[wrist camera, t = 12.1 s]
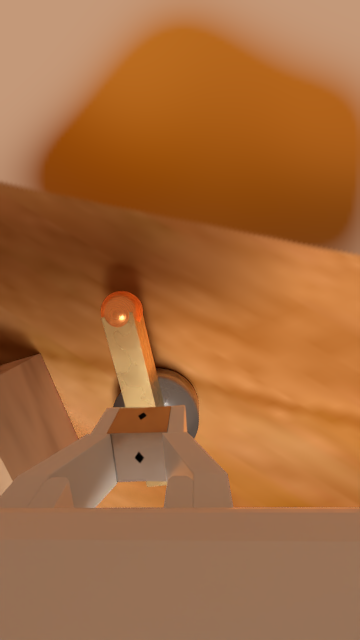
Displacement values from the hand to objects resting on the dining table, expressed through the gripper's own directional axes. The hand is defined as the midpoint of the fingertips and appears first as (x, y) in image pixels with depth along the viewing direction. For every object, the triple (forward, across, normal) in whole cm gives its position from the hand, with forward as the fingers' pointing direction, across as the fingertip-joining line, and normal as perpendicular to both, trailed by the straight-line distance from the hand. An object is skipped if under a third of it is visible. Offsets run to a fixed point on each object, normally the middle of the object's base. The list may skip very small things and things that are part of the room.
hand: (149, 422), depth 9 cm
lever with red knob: (+14, +3, +4) cm, 15 cm away
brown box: (+15, +16, +9) cm, 24 cm away
